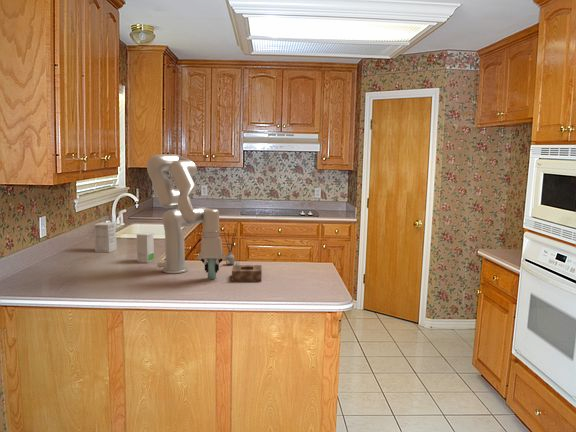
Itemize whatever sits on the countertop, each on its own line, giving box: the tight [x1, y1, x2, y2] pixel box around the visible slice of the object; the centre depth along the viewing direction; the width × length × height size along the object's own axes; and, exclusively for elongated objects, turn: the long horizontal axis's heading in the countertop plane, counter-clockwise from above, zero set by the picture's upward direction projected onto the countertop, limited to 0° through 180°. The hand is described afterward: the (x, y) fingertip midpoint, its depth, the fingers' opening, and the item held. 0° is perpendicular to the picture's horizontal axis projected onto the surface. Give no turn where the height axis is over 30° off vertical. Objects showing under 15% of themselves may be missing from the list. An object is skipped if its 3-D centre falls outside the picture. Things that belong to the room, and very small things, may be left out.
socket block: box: [231, 264, 263, 283], centre depth 247 cm, size 14×12×5 cm
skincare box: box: [136, 232, 155, 264], centre depth 280 cm, size 8×7×16 cm
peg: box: [207, 259, 217, 280], centre depth 246 cm, size 4×4×10 cm
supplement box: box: [93, 221, 118, 253], centre depth 306 cm, size 10×9×17 cm
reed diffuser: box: [222, 228, 241, 265], centre depth 274 cm, size 10×7×20 cm
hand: (211, 271), depth 246 cm, fingers closed on peg, 4 cm apart
